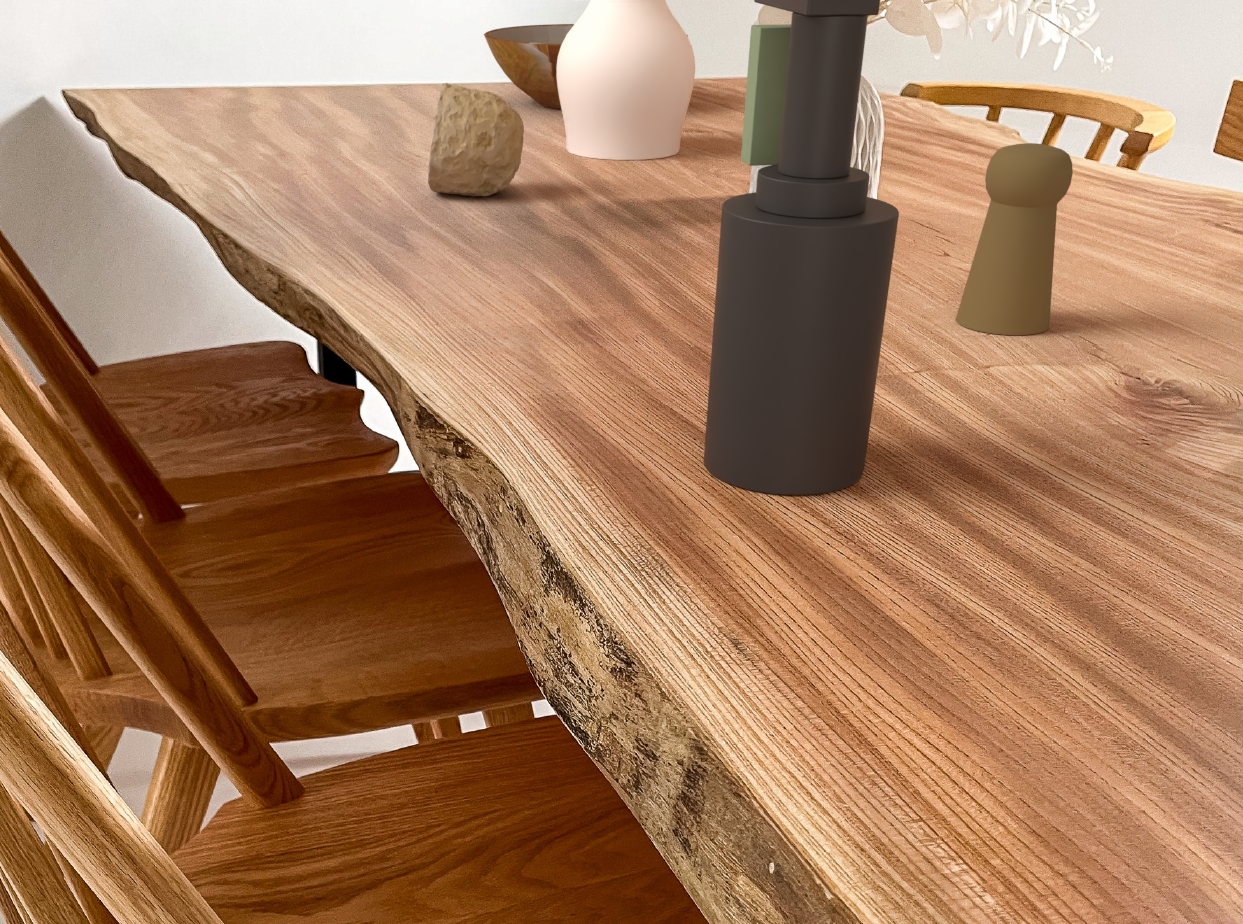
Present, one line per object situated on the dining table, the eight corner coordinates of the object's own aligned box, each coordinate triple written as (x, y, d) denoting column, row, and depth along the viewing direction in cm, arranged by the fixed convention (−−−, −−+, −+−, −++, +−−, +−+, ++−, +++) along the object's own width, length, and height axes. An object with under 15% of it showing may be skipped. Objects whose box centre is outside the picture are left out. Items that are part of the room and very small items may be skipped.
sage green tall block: (740, 160, 69) (750, 24, 66) (794, 159, 69) (807, 24, 66) (749, 165, 68) (760, 27, 64) (804, 164, 68) (818, 26, 65)
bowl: (451, 111, 171) (449, 38, 167) (530, 86, 191) (530, 20, 186) (646, 124, 163) (650, 49, 158) (708, 97, 182) (713, 28, 178)
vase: (537, 142, 152) (538, -69, 142) (658, 135, 156) (668, -70, 146) (582, 165, 141) (587, -63, 130) (712, 157, 145) (727, -64, 134)
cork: (1066, 322, 93) (1102, 145, 87) (1020, 340, 89) (1055, 157, 84) (985, 304, 97) (1014, 134, 91) (937, 321, 93) (965, 145, 87)
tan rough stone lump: (407, 103, 130) (505, 57, 127) (452, 210, 133) (548, 168, 130) (382, 109, 121) (485, 60, 118) (430, 224, 125) (532, 179, 122)
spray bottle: (671, 426, 76) (703, -99, 63) (812, 417, 77) (871, -99, 64) (731, 500, 67) (781, -93, 54) (889, 489, 68) (975, -93, 55)
